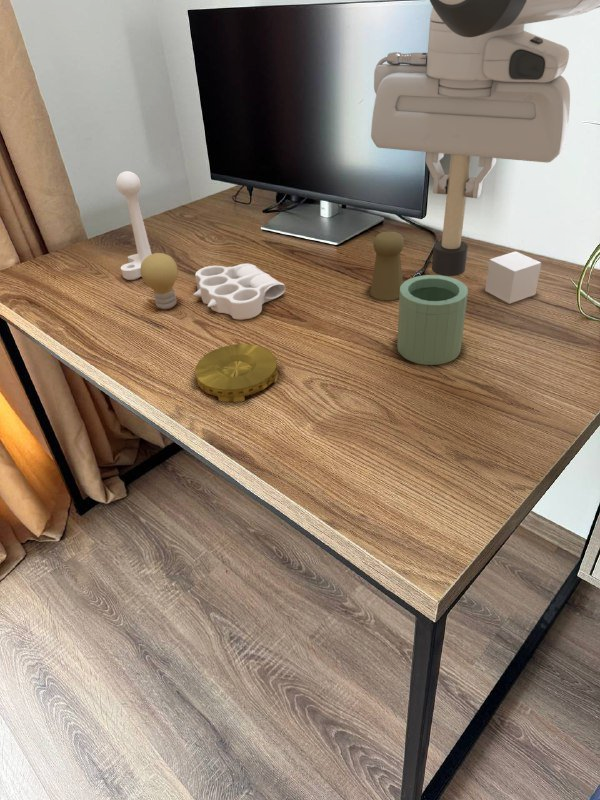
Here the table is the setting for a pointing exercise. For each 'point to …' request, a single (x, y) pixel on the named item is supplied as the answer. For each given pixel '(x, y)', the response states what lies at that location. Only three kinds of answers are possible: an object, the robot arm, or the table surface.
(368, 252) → the table surface
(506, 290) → the white cube
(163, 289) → the light bulb
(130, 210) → the joystick
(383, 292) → the brown pawn
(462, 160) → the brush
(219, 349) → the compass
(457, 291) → the jar
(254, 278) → the white brass knuckles
